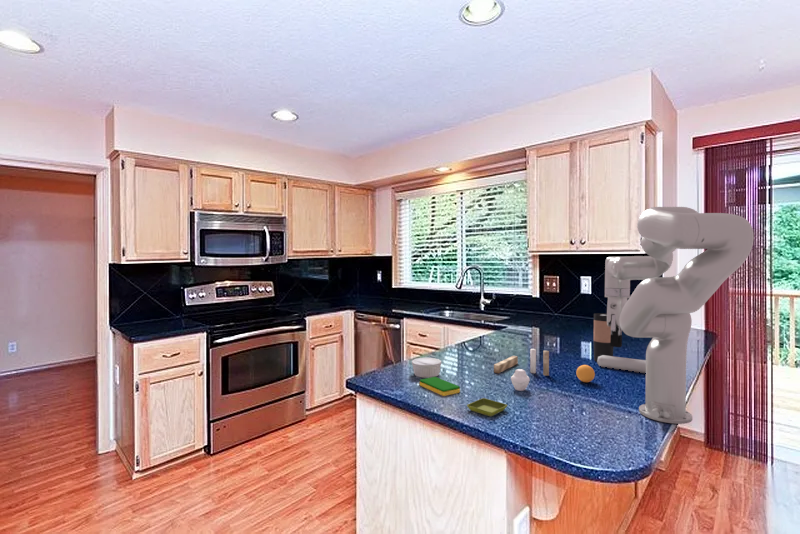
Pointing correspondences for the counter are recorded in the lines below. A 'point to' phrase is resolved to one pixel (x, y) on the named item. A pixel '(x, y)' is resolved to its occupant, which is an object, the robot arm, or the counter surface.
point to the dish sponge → (439, 386)
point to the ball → (585, 373)
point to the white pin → (532, 360)
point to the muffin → (520, 380)
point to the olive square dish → (487, 407)
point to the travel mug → (601, 336)
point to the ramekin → (426, 367)
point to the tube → (622, 363)
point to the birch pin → (546, 363)
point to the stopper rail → (505, 364)
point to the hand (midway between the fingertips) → (616, 346)
